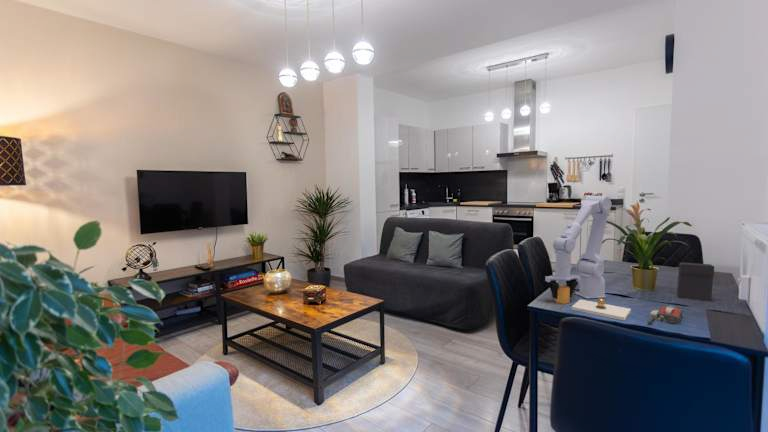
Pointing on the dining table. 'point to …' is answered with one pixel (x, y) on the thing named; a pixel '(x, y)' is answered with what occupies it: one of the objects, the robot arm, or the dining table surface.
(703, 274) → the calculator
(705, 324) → the dining table surface
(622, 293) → the dining table surface
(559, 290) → the cap
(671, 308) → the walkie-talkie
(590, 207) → the robot arm
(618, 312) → the plate
